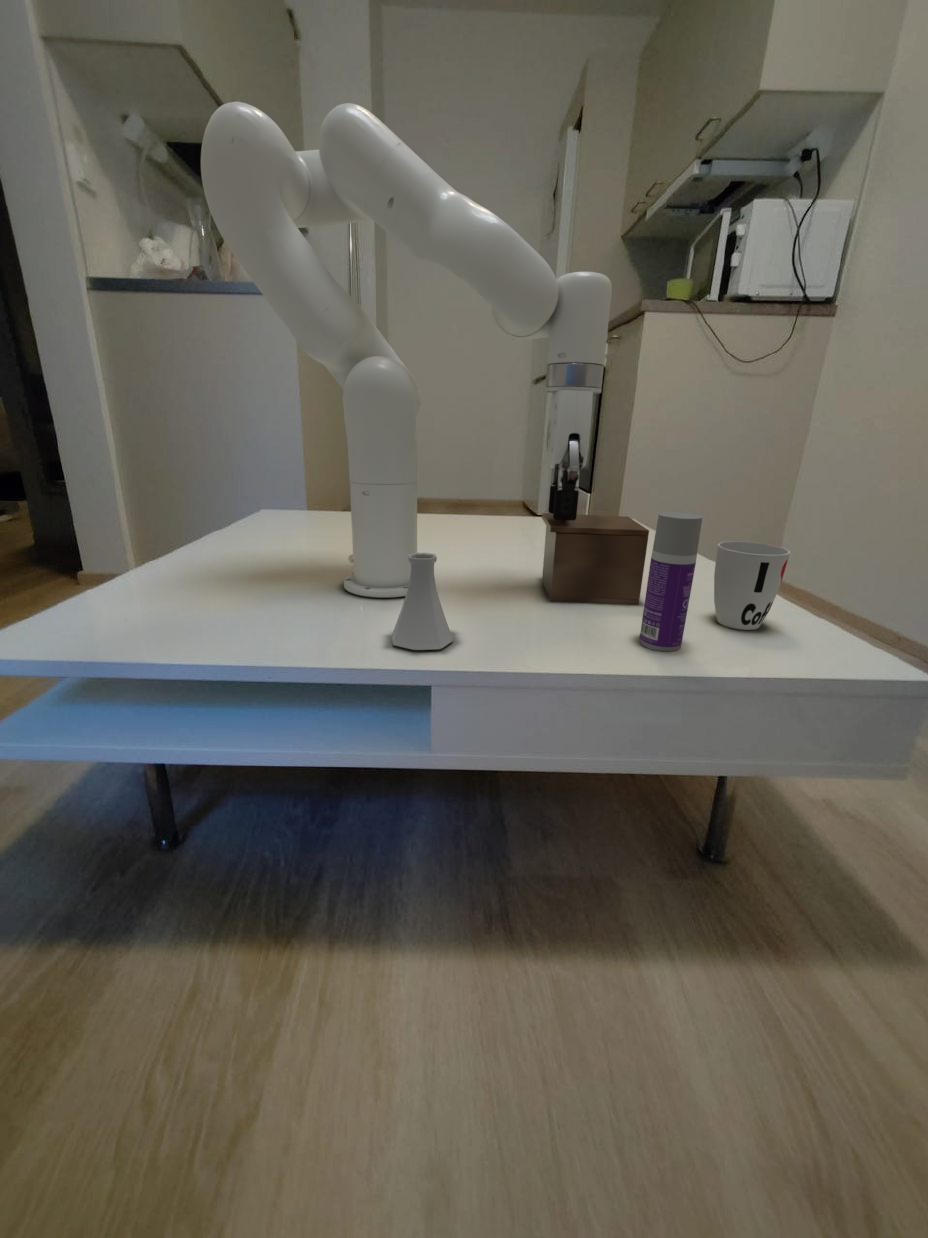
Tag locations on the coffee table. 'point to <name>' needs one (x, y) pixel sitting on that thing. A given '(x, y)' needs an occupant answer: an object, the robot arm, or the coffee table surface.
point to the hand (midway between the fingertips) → (561, 515)
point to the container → (670, 580)
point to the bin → (594, 567)
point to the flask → (422, 609)
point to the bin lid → (595, 525)
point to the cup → (747, 582)
